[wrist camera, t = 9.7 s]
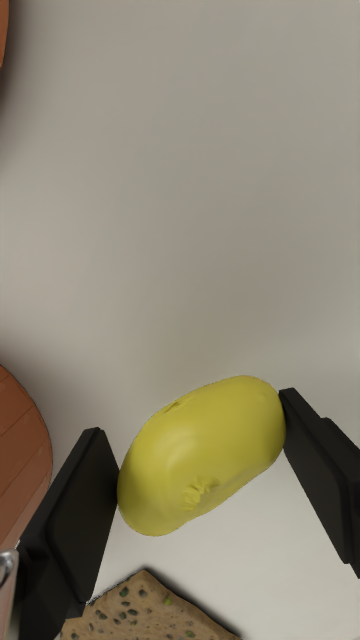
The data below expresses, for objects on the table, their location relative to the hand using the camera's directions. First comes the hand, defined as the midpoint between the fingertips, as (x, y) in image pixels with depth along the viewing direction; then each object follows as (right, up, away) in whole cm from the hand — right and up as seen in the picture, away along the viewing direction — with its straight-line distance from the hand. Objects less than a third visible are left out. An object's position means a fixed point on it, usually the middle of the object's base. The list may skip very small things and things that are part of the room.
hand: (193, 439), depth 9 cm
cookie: (-4, -22, +10) cm, 24 cm away
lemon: (0, 0, +1) cm, 2 cm away
